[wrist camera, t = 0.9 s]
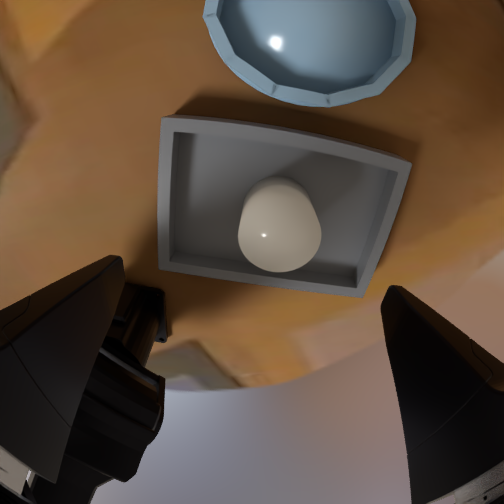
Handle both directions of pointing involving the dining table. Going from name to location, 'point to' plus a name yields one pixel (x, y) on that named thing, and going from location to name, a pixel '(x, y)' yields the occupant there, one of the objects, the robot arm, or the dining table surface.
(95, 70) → the dining table surface
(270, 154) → the parts tray
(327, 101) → the blue ring
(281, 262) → the white marshmallow
